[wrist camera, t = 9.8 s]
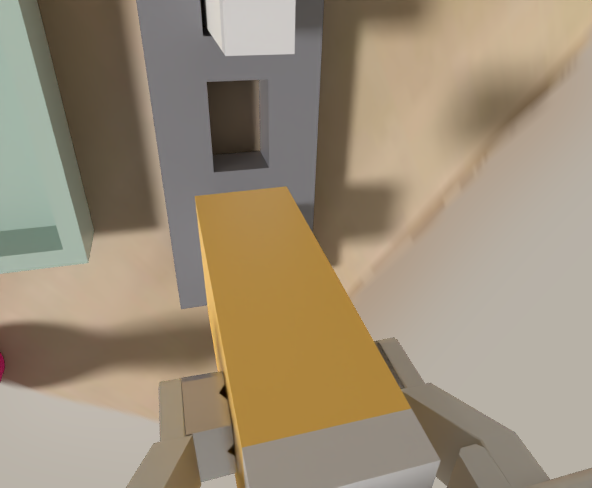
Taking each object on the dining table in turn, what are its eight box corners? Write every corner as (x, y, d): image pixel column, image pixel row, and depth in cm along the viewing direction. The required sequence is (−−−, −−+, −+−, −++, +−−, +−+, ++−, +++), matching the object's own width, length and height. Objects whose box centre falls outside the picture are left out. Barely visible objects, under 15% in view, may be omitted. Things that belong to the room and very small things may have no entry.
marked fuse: (194, 196, 15) (253, 509, 7) (286, 186, 15) (440, 460, 7) (208, 315, 17) (262, 638, 9) (286, 302, 18) (397, 594, 10)
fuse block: (115, -159, 22) (111, -171, 20) (313, -145, 25) (331, -154, 22) (178, 285, 37) (181, 309, 35) (300, 268, 39) (309, 289, 37)
